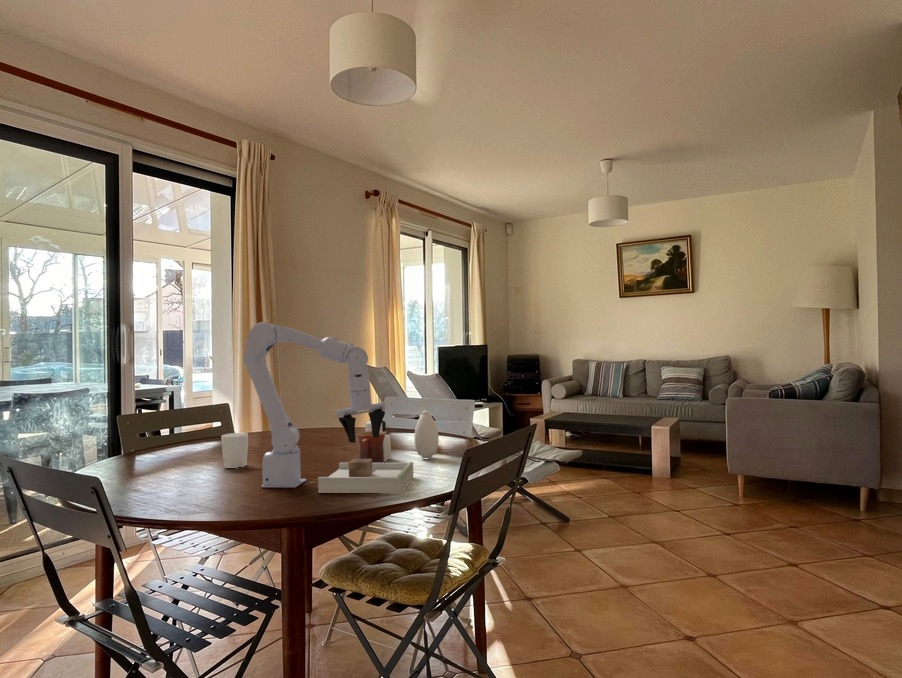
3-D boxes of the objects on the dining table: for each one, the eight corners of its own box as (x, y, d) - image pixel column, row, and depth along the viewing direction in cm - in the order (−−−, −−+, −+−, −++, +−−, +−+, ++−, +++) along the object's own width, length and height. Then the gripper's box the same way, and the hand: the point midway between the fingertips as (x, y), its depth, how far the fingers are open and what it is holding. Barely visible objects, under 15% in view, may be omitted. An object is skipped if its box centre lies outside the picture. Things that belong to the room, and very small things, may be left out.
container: (368, 458, 185) (367, 418, 185) (391, 458, 184) (390, 418, 184) (360, 463, 178) (360, 422, 178) (384, 463, 176) (383, 422, 176)
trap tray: (318, 493, 142) (318, 476, 142) (340, 476, 159) (339, 461, 160) (400, 494, 139) (400, 476, 139) (413, 476, 157) (412, 461, 157)
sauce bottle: (437, 461, 178) (436, 404, 178) (412, 461, 179) (411, 404, 179) (440, 456, 185) (439, 401, 186) (416, 456, 186) (415, 402, 186)
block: (348, 477, 147) (348, 462, 147) (354, 473, 152) (354, 458, 152) (367, 478, 147) (367, 462, 147) (372, 473, 152) (372, 458, 152)
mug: (362, 464, 176) (361, 431, 176) (389, 464, 175) (388, 431, 175) (350, 472, 164) (349, 437, 164) (379, 473, 163) (378, 437, 163)
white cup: (242, 469, 172) (241, 436, 173) (217, 469, 173) (216, 437, 173) (252, 463, 180) (252, 432, 180) (228, 464, 181) (227, 433, 181)
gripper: (344, 394, 147) (348, 445, 147) (389, 387, 157) (394, 435, 157) (331, 393, 153) (335, 443, 153) (375, 387, 162) (380, 434, 162)
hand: (364, 439), depth 155 cm, fingers open, 7 cm apart
